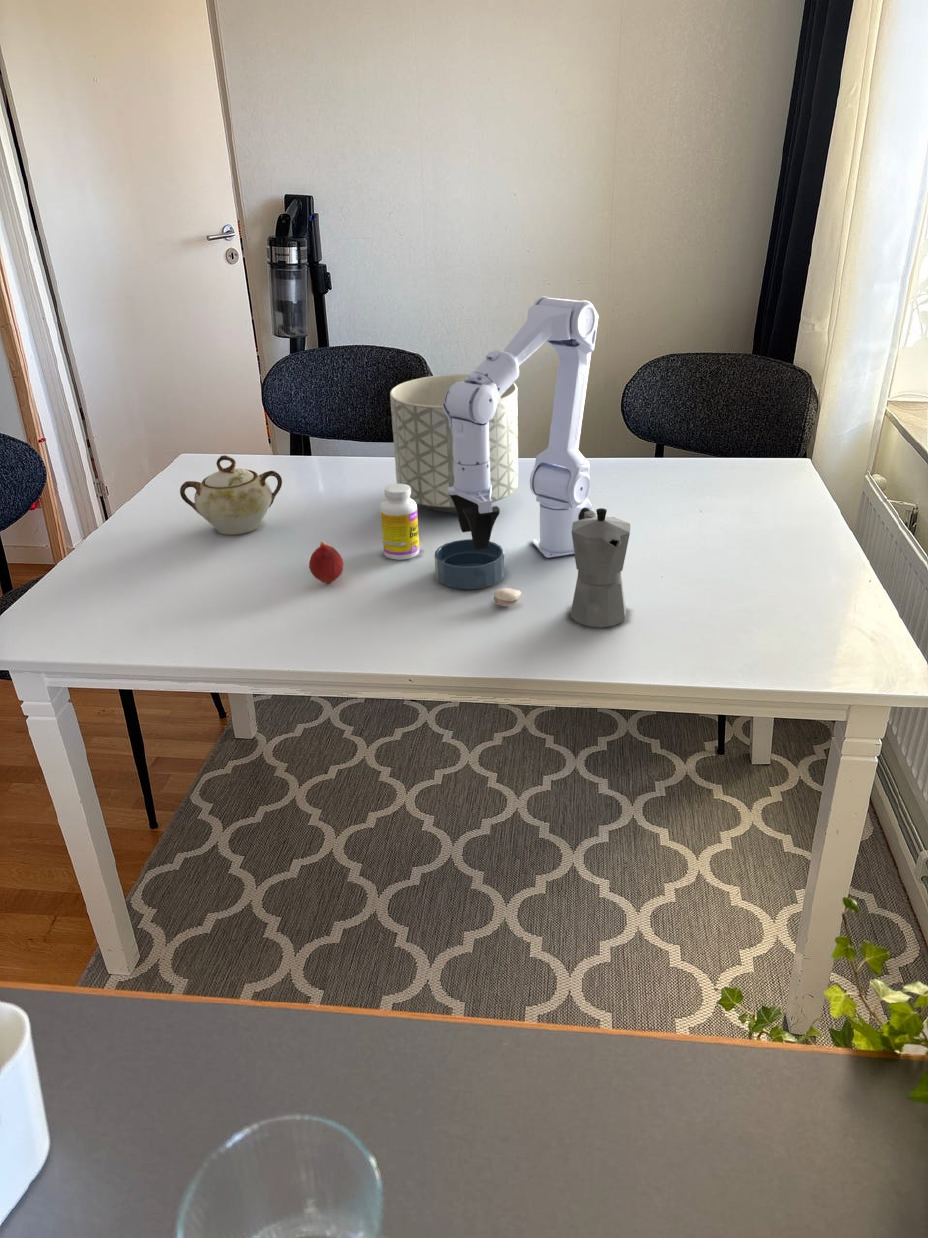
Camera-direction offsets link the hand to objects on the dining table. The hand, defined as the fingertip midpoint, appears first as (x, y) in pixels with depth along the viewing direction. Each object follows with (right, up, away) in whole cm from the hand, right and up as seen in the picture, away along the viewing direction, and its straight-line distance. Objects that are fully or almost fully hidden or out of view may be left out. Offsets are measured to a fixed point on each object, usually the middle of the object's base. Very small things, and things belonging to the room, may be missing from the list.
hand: (474, 539), depth 155 cm
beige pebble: (+6, -11, +1) cm, 12 cm away
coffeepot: (+19, -12, -3) cm, 23 cm away
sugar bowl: (-47, +5, +35) cm, 59 cm away
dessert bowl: (-1, -6, +10) cm, 12 cm away
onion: (-25, -7, +10) cm, 28 cm away
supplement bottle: (-13, -1, +20) cm, 24 cm away
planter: (-3, +11, +42) cm, 43 cm away
